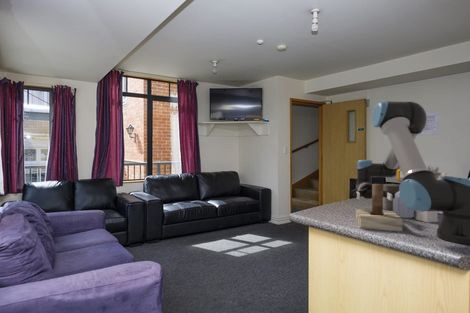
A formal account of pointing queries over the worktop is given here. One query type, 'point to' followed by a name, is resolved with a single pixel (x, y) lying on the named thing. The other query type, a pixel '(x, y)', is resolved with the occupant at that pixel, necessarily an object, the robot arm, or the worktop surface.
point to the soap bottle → (398, 205)
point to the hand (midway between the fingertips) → (375, 197)
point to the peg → (377, 199)
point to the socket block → (379, 220)
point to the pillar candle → (389, 204)
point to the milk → (427, 216)
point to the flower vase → (437, 172)
